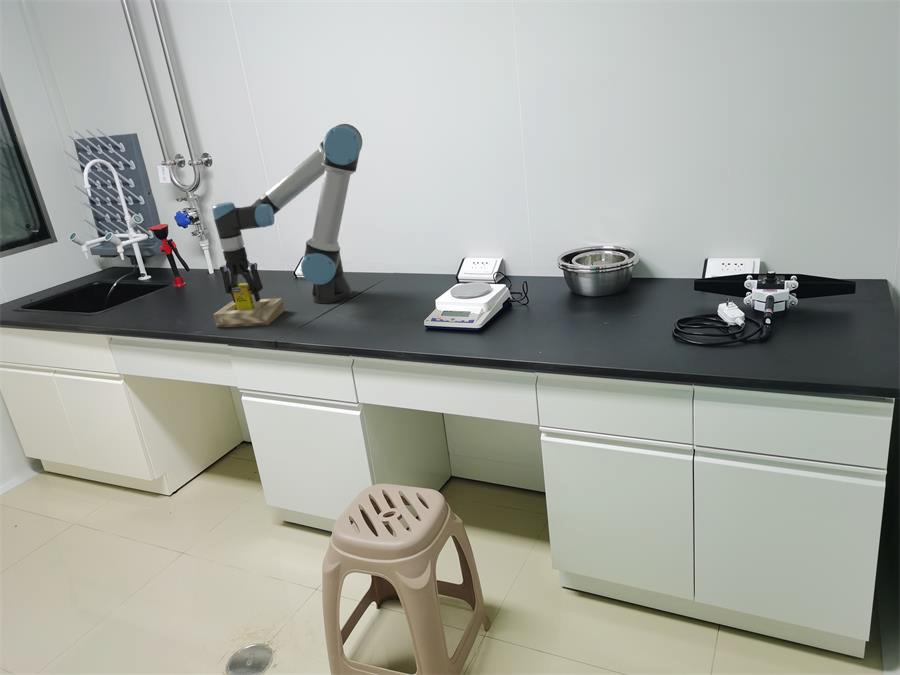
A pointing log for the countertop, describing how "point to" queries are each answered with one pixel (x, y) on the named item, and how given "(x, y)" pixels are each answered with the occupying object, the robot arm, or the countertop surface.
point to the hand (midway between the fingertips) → (249, 310)
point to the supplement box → (243, 297)
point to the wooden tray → (249, 314)
